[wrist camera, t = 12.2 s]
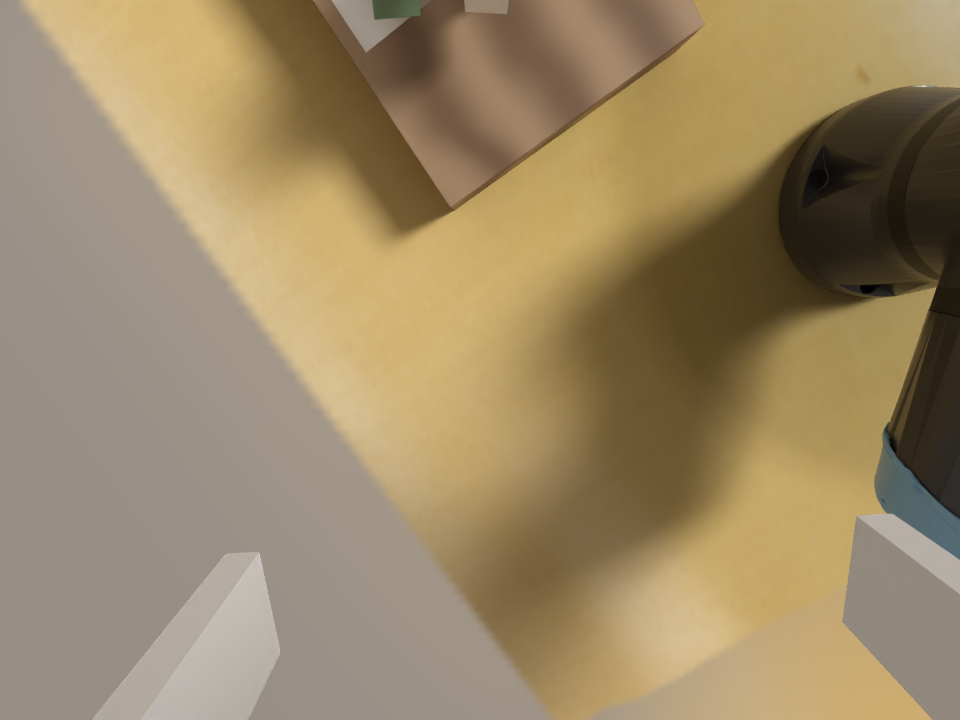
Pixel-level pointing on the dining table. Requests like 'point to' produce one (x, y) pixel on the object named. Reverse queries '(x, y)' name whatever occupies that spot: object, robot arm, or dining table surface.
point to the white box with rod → (487, 6)
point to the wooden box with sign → (500, 72)
